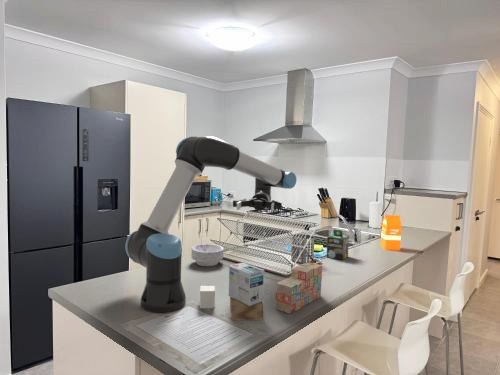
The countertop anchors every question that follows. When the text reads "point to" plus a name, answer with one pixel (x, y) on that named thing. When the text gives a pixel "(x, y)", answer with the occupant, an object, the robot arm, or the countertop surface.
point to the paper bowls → (207, 254)
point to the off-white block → (207, 296)
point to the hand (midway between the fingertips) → (254, 207)
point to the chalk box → (337, 245)
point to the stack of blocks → (299, 287)
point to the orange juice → (391, 232)
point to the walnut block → (246, 310)
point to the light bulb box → (246, 283)
